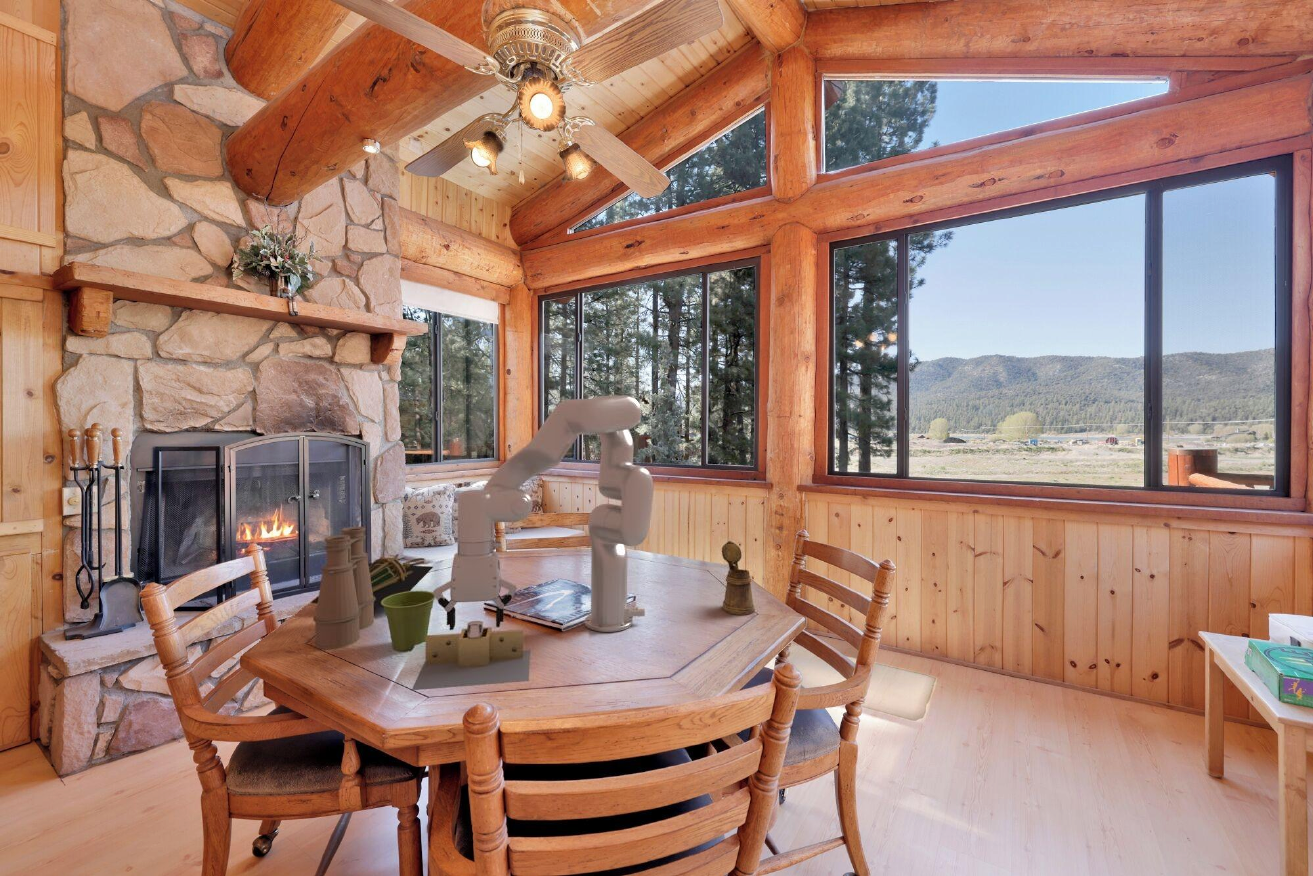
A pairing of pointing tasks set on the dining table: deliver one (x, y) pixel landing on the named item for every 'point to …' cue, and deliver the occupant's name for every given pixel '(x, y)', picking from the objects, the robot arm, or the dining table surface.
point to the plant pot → (408, 617)
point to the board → (473, 673)
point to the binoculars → (344, 591)
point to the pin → (475, 629)
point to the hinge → (474, 647)
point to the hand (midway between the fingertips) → (475, 626)
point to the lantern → (393, 577)
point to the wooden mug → (736, 583)
